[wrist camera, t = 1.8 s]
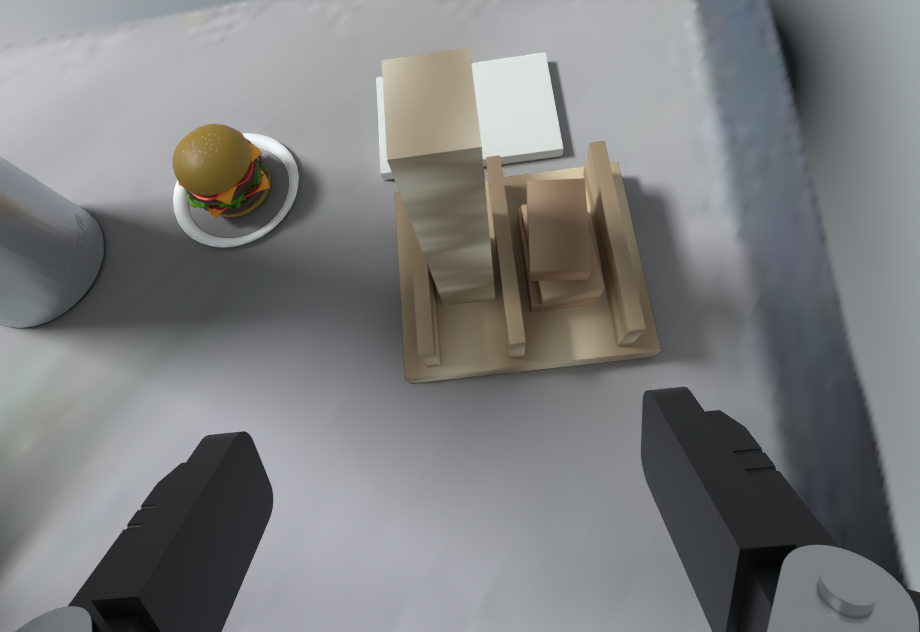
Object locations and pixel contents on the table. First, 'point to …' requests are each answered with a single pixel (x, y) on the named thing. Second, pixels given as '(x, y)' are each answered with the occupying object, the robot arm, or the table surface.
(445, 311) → the pine rack
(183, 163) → the hamburger
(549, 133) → the white mat
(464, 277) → the tall birch block
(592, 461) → the table surface
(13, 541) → the table surface
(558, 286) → the offcut stack
